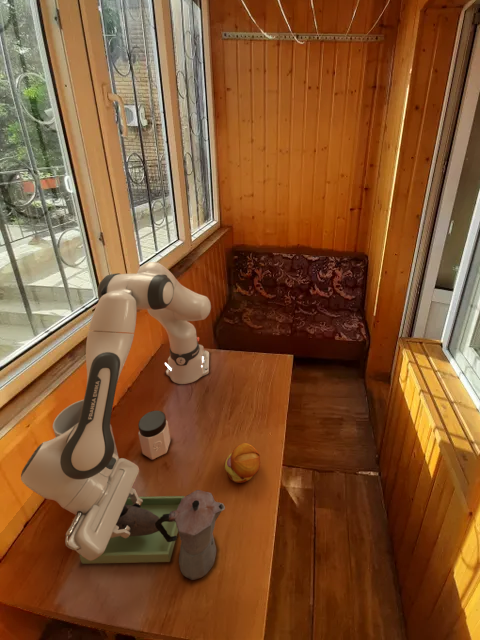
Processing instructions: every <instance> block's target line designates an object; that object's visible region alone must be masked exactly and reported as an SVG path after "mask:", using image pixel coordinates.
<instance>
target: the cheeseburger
mask: <svg viewBox="0 0 480 640" xmlns="http://www.w3.org/2000/svg"><path fill="white" fill-rule="evenodd" d="M260 468H261V455H260V453H259V451H258V450H257V449H256V448H255V447H254V446H253V445H252V444H250V443H247V442H243V443H240V444H238V445H236V446H235V447H234V448H233V450H232V451H231V452H230V454H229V455H228V456H227V458H226V460H225V463H224V470H225V471H226V474H227V476H228V477H229V479H230V480H231V481H232V482H234V483H240V484H241V483H242V484H243V483H245V482H248V481H250V480H251V479H252V478H253V477H254V476H255V475H256V474H257V473H258V472H259V470H260Z"/></svg>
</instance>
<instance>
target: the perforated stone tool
mask: <svg viewBox="0 0 480 640" xmlns="http://www.w3.org/2000/svg"><path fill="white" fill-rule="evenodd" d="M158 519H160V518H159V517H158V516H156V515H155V514H153V513H152V512H150V511H148V510H146V509H142V508H139V507H135V506H131V505H124V507H123V510H122V512H121V514H120V516H119V519H118V521H117V523H116V525H117V526H118V527H119V529H118V530H121V529H123V528H124V527H125V526H127V525H128V526H129V527H131V528H132V530H131V533H130V536H144V535H149V534H153V533H155V532H158V529H157V528H156V526H155V522H156V521H158ZM161 524H162V523H161ZM130 536H129V537H130Z"/></svg>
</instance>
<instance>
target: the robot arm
mask: <svg viewBox="0 0 480 640" xmlns="http://www.w3.org/2000/svg"><path fill="white" fill-rule="evenodd" d="M97 286H98V287H97V298H98V302H97V304H96V306H95V309H94V311H93V313H92V317H91V319H90V323H89V328H88V331H87V336H86V344H85V365H86V387H85V393H84V398H83V400H84V401H83V406H82V410H81V415H80V419H79V423H77V424H76V425H75V426H73V427H72V428H71V429H69V430H68V431H66V432H65V433H63V434H61V435H60V436H58V437H56V436H55V437H54V438H52V439H49V440H47V441H43V442H42V443H40V444H39V445H38V446H37V447H36V449H35V450H34V451H33V453H32V454H31V456H30V458H29V459H28V460H27V462H26V464H25V465H24V467H23V468H22V470H21V473H20V480H21V482H22V483H23V484H24V485H25V486H26V487H27V488H28V489H30V490H31V491H32V492H34V493H35V494H37V495H39V496H40V497H42V498H43V499H46V500H51V501H55V502H56V503H57V504H58V505H59V506H60V507H61V508H62V509H64V510H66V511H68V512H69V513H71V514H73V515H75V516H74V518H73V520H72V522H71V524H70V526H69V527H68V529H67V530H66V533H65V535H64V536H65V540H64V541H65V542H64V543H65V546H66V547H67V548H68V549H70V550H72V551H75V552H77V553H78V555H82V556H83V557H84V558H86V559H88V560H90V561H92V560H94V559H96V558H98V557H99V556H100V555H101V554H103V552H104V551H105V549H106V546H107V544H108V542H109V539H110V538H113V537H118V536H122V537H123V538H127V537H129V536H130V533H131V530H132V528H131V527H129V526H128V525H127V526H125V527H124V528H123V529H121V530H118V529H119V527H118V526H117V525H116V523H117V521H118V519H119V516H120V514H121V512H122V510H123V507H124V505H125V503H126V500H127V499H128V498H129V497H130V499H131V501H132V502H133V505H132V506H135V507H141V505H142V502H143V500H142V499H140V498H139V497H140V496H139V495H138V493H137V491H136V489H135V488H133V486H134V484H135V482H136V480H137V477H138V475H139V472H140V469H139V466H138V465H137V464H136V463H134V462H133V461H132V460H129V459H126V458H124V457H121V458H120V457H119V455H118V456H117V455H116V454H113V453H114V441H113V436H114V435H113V436H112V432H113V427H112V424H111V420H112V419H111V418H112V413H113V407H114V402H115V397H116V390H117V386H118V382H119V379H120V377H121V374H122V371H123V369H124V367H125V364H126V361H127V360H128V356H129V355H130V351H131V348H132V345H133V342H134V337H135V331H136V326H137V325H136V324H137V312H138V311H137V310H147V313H148V314H149V316H150V317H152V318H153V319H155V320H156V321H158V323H160V325H161V326H162V328H163V329H164V330H165V332H166V334H167V337H168V341H169V342H168V343H169V356H168V357H167V362H164V365H165V366H166V367H167V369H166V370H165V375H166V376H168V377H169V378H170V380H171V381H172V382H173V383H175V384H178V385H187V384H191V383H194V382H196V381H198V380H199V379H200V378H202V377H204V376H206V375H208V374H209V373H210V352H209V351H208V350H205V347H204V346H203V344H199V342H200V337H199V336H197V329H196V327H195V325H194V324H193V323H191V322H197V321H203V320H205V319H207V317H208V316H209V315H210V313H211V309H212V305H211V304H212V303H211V301H210V299H209V297H208V296H206V295H204V294H200V293H197V292H196V291H193V290H191V289H189V288H187V287H186V286H184V285H183V284H181V282H180V281H179V280H178V279H177V278H176V277H175V275H174V274H173V273H172V272H171V271H170V270H169V269H168V268H167V267H165V266H164V265H163V264H162V263H160V262H157V261H149V262H146V263H144V264H143V265H141V266H140V267H139V268H138V270H137V271H136V273H118V272H117V273H111V274H108V275H105V277H103V278H102V279H101V281H100V282H99V284H98V285H97ZM118 457H119V459H118Z"/></svg>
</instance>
